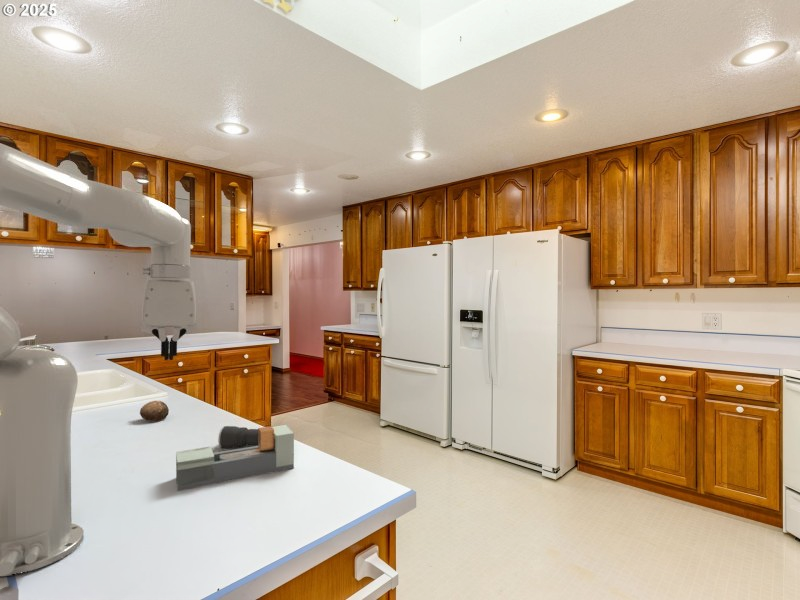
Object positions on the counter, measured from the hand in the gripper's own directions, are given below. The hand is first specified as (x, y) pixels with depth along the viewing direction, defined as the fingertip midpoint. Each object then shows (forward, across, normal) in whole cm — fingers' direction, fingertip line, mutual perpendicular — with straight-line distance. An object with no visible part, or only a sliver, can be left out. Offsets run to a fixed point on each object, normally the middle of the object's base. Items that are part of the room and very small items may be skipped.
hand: (168, 359), depth 94 cm
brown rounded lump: (+25, -5, +51) cm, 57 cm away
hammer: (+24, +17, -2) cm, 30 cm away
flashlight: (+26, +19, +14) cm, 35 cm away
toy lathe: (+26, +14, -2) cm, 30 cm away
